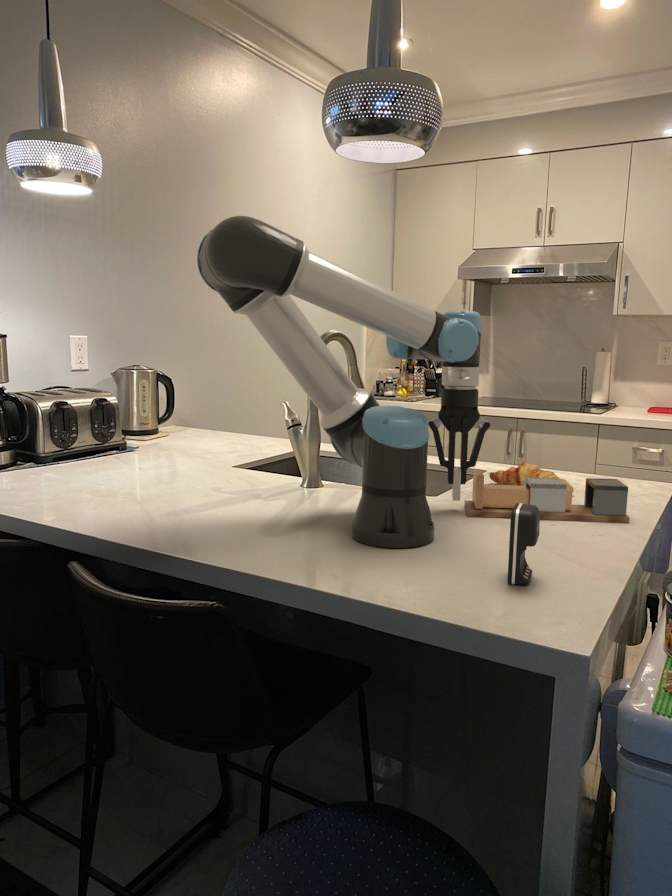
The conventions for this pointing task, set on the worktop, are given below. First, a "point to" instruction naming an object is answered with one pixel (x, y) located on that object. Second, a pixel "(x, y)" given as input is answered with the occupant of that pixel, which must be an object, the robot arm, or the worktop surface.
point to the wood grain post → (503, 494)
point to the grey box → (606, 496)
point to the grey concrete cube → (547, 494)
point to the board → (547, 514)
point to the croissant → (522, 475)
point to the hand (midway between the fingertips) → (456, 498)
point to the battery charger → (522, 541)
